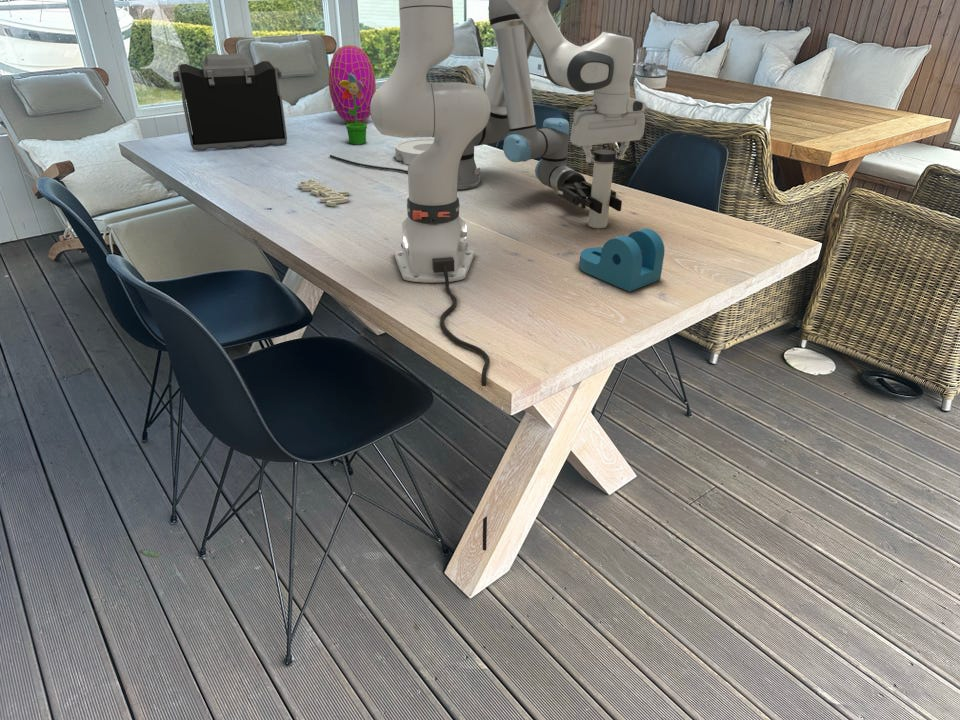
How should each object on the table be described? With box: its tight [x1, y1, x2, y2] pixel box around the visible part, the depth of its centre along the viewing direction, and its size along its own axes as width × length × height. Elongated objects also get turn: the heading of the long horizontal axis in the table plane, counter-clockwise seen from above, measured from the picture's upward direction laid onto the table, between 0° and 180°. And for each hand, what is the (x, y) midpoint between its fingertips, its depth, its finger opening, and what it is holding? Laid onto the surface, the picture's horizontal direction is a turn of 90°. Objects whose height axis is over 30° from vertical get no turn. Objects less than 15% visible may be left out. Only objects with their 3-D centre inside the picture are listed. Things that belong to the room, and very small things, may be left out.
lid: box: [593, 148, 616, 162], centre depth 176 cm, size 6×6×2 cm
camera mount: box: [578, 228, 665, 292], centre depth 154 cm, size 18×10×10 cm, turn 39°
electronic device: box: [172, 52, 288, 152], centre depth 253 cm, size 37×22×30 cm, turn 111°
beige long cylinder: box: [587, 160, 615, 229], centre depth 180 cm, size 5×5×19 cm
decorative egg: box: [328, 44, 377, 124], centre depth 286 cm, size 19×19×30 cm
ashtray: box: [394, 138, 434, 166], centre depth 243 cm, size 23×23×4 cm
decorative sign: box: [297, 178, 350, 207], centre depth 206 cm, size 26×1×10 cm
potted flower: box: [339, 73, 368, 145], centre depth 255 cm, size 9×8×25 cm
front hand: (604, 160), depth 176 cm, fingers open, 8 cm apart
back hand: (610, 207), depth 177 cm, fingers closed on beige long cylinder, 5 cm apart
